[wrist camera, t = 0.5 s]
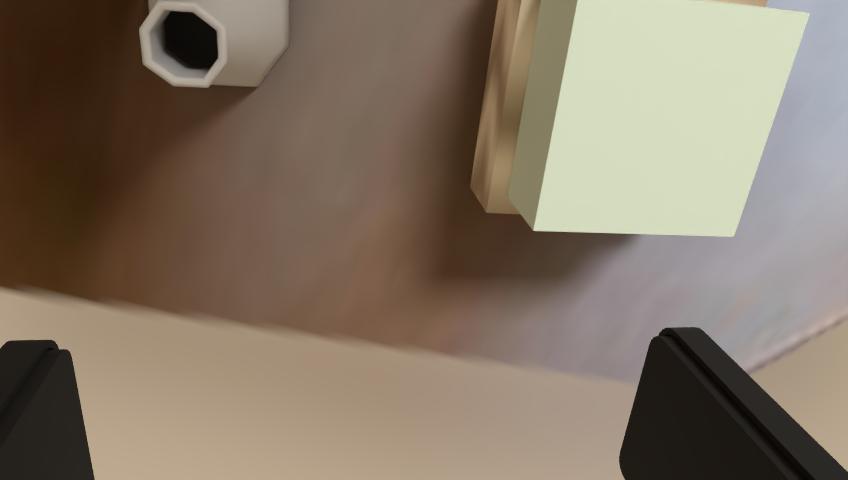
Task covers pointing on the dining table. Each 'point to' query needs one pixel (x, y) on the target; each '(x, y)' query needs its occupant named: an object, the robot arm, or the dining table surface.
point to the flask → (214, 40)
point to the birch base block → (509, 100)
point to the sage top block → (648, 113)
